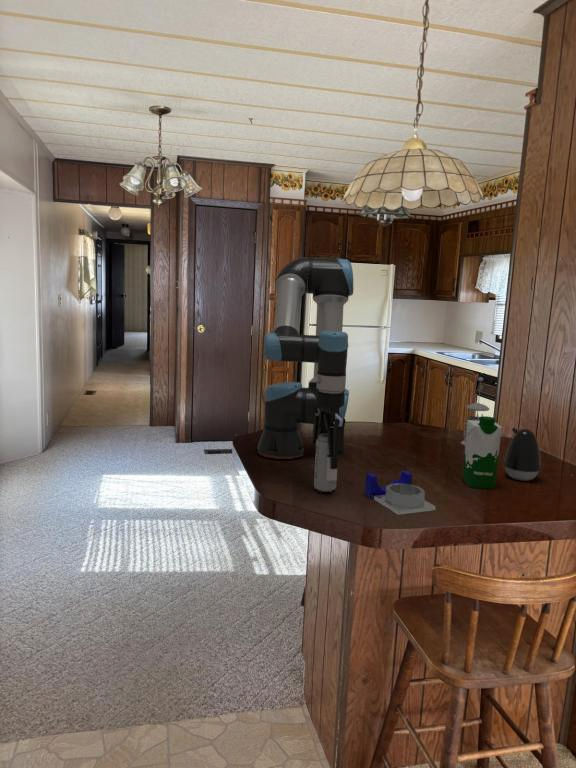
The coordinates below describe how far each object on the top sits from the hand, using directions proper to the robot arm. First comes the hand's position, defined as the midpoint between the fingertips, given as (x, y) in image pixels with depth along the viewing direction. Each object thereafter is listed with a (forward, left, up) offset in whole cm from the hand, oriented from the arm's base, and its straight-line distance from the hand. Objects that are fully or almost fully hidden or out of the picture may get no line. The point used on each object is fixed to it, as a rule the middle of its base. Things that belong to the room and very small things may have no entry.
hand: (325, 475), depth 153 cm
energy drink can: (0, 0, -4) cm, 4 cm away
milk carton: (+7, +46, -4) cm, 47 cm away
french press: (-30, +77, -4) cm, 83 cm away
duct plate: (+15, +15, -4) cm, 22 cm away
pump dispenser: (+6, +63, -4) cm, 63 cm away
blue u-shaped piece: (+7, +15, -4) cm, 17 cm away
